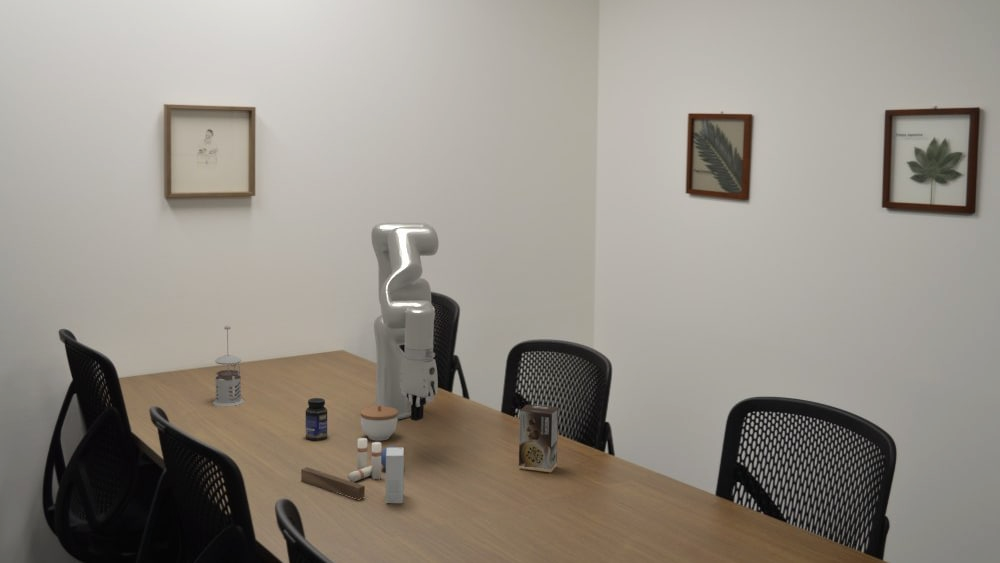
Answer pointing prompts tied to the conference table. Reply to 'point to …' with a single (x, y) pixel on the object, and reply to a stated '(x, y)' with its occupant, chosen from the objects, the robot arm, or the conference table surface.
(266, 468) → the conference table surface
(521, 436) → the coffee box
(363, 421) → the lidded jar
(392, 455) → the skincare box
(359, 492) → the bar
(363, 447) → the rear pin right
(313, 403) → the pill bottle
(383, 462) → the ball
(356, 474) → the front pin
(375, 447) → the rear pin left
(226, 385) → the french press
